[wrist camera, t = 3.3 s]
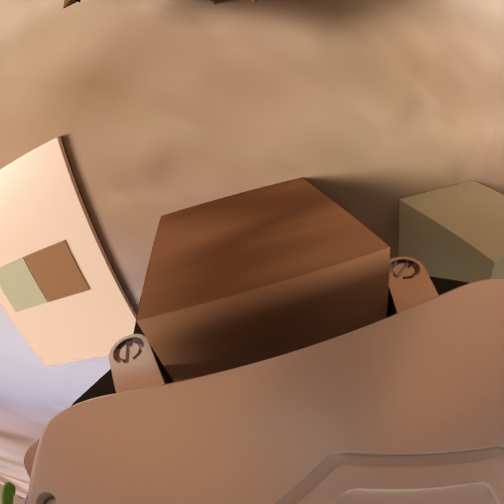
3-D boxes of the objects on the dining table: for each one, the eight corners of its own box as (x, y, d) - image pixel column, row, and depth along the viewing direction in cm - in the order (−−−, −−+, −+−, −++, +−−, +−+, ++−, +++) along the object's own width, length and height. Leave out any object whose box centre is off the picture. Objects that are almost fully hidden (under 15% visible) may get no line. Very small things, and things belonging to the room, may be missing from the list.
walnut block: (301, 177, 11) (390, 246, 6) (317, 291, 14) (376, 389, 9) (161, 216, 11) (136, 320, 6) (203, 324, 14) (215, 439, 8)
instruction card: (60, 136, 9) (56, 137, 8) (151, 341, 14) (151, 346, 13) (-45, 202, 8) (-49, 205, 8) (47, 362, 13) (45, 366, 13)
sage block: (471, 179, 13) (556, 224, 8) (462, 264, 15) (526, 319, 10) (398, 198, 12) (494, 262, 7) (395, 293, 15) (459, 368, 10)
